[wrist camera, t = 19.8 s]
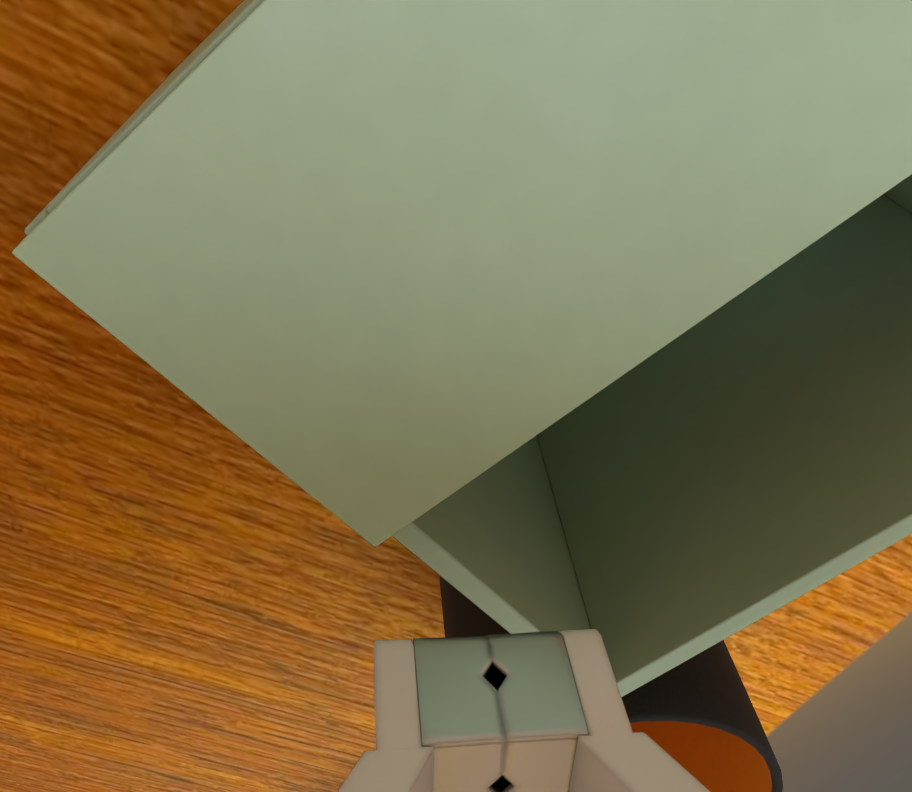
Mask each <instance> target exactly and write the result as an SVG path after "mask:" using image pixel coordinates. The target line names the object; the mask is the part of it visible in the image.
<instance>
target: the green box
mask: <svg viewBox="0 0 912 792" xmlns="http://www.w3.org/2000/svg"><path fill="white" fill-rule="evenodd" d="M262 1H263V0H243V1H242V2H241V3H240V4H239V5H238V6H237V7H236V8H235V9H234V10H233V11H232V12H231V13H230V14H229V15H228V16H227V17H226V18H225V19H224V20H223V21H222V22H221V23H220V24H219V25H218V26H217V27H216V28H215V29H214V30H213V31H212V32H211V33H210V34H209V35H208V36H207V37H206V38H205V39H204V41H203V42H202V43H201V44H200V45H199V46H198V47H197V48H196V49H195V50H194V51H193V52H192V53H191V54H190V55H189V56H188V57H187V58H186V59H185V60H184V61H183V62H182V63H181V64H180V65H179V66H178V67H177V68H176V69H175V70H174V71H173V72H172V73H171V74H170V75H169V76H168V77H167V78H166V79H165V80H164V81H163V82H162V83H161V84H160V85H159V86H158V88H157V89H156V90H155V91H154V92H153V93H152V94H151V95H150V96H149V97H148V98H147V99H146V100H145V101H144V102H143V103H142V105H141V106H140V107H139V108H138V109H137V110H136V111H135V112H134V113H133V114H132V115H131V116H130V117H129V118H128V119H127V120H126V122H125V123H124V124H123V125H122V126H121V127H120V128H119V129H118V130H117V131H116V132H115V133H114V134H113V135H112V136H111V138H110V139H109V140H108V141H107V142H106V143H105V144H104V145H103V146H102V147H101V148H100V149H99V150H98V151H97V152H96V153H95V155H94V156H93V157H92V158H91V159H90V160H89V161H88V162H87V163H86V164H85V165H84V166H83V167H82V168H81V169H80V170H79V172H78V173H77V174H76V175H75V176H74V177H73V178H72V179H71V180H70V181H69V182H68V183H67V184H66V185H65V186H64V187H63V189H62V190H61V191H60V192H59V193H58V194H57V195H56V196H55V197H54V198H53V199H52V200H51V201H50V202H49V203H48V204H47V206H46V207H45V208H44V209H43V210H42V211H41V212H40V213H39V214H38V215H37V216H36V217H35V218H34V219H33V220H32V222H31V223H30V224H29V225H28V226H27V227H26V228H25V231H24V232H25V234H26V235H28V234H29V233H30V232H31V231H32V230H33V229H34V228H35V227H36V226H37V225H38V224H39V223H40V222H41V221H42V220H43V219H44V218H45V217H46V216H47V215H48V214H50V213H51V212H52V211H53V210H54V209H55V208H56V207H57V206H58V205H59V204H60V203H61V202H62V201H63V200H64V199H65V198H66V197H67V196H68V195H69V194H70V193H71V192H72V191H73V190H74V189H75V188H76V187H77V186H78V185H79V184H80V183H81V182H82V181H83V180H84V179H85V178H86V177H87V176H88V175H89V174H90V173H91V172H92V171H93V170H94V169H95V168H96V167H97V166H98V165H99V164H100V163H101V162H102V161H103V160H104V159H105V158H106V157H107V156H108V155H109V154H110V153H111V152H112V151H113V150H114V149H115V148H116V147H117V146H118V145H119V144H120V143H121V142H122V141H123V140H124V139H125V138H126V137H127V136H128V135H129V134H130V133H131V132H132V131H133V130H134V129H135V128H136V127H137V126H138V125H139V124H140V123H141V122H142V121H143V120H144V119H145V118H146V117H147V116H148V115H149V114H150V113H151V112H152V111H153V110H154V109H155V108H156V107H157V106H158V105H159V104H160V103H161V102H162V101H163V100H164V99H165V98H166V97H167V96H168V95H169V94H170V93H171V92H172V91H173V90H174V89H175V88H176V87H177V86H178V85H179V84H180V83H181V82H182V81H183V80H184V79H185V78H186V77H187V76H188V75H189V74H190V73H191V72H192V71H193V70H194V69H195V68H196V67H197V66H198V65H199V64H200V63H201V62H202V61H203V60H204V59H205V58H206V57H207V56H208V55H209V54H210V53H211V52H212V51H213V50H214V49H215V48H216V47H217V46H218V45H219V44H220V43H221V42H222V41H223V40H224V39H225V38H226V37H227V36H228V35H229V34H230V33H231V32H232V31H233V30H234V29H235V28H236V27H237V26H238V25H239V24H240V23H241V22H242V21H243V20H244V19H245V18H246V17H247V16H248V15H249V14H250V13H251V12H252V11H253V10H254V9H255V8H256V7H257V6H258V5H259V4H260V3H261V2H262ZM910 534H912V174H911V175H910V176H908V177H907V178H906V179H904V180H903V181H901V182H900V183H898V184H897V185H896V186H894V187H893V188H891V189H890V190H888V191H887V192H885V193H884V194H883V195H881V196H880V197H878V198H877V199H875V200H874V201H873V202H871V203H870V204H868V205H867V206H865V207H864V208H862V209H861V210H860V211H858V212H857V213H855V214H854V215H852V216H851V217H850V218H848V219H847V220H845V221H844V222H842V223H841V224H839V225H838V226H837V227H835V228H834V229H832V230H831V231H829V232H828V233H827V234H825V235H824V236H822V237H821V238H819V239H818V240H816V241H815V242H814V243H812V244H811V245H809V246H808V247H806V248H805V249H803V250H802V251H801V252H799V253H798V254H796V255H795V256H793V257H792V258H791V259H789V260H788V261H786V262H785V263H783V264H782V265H780V266H779V267H778V268H776V269H775V270H773V271H772V272H770V273H769V274H768V275H766V276H765V277H763V278H762V279H760V280H759V281H757V282H756V283H755V284H753V285H752V286H750V287H749V288H747V289H746V290H745V291H743V292H742V293H740V294H739V295H737V296H736V297H734V298H733V299H732V300H730V301H729V302H727V303H726V304H724V305H723V306H722V307H720V308H719V309H717V310H716V311H714V312H713V313H711V314H710V315H709V316H707V317H706V318H704V319H703V320H701V321H700V322H699V323H697V324H696V325H694V326H693V327H691V328H690V329H688V330H687V331H686V332H684V333H683V334H681V335H680V336H678V337H677V338H676V339H674V340H673V341H671V342H670V343H668V344H667V345H665V346H664V347H663V348H661V349H660V350H658V351H657V352H655V353H654V354H653V355H651V356H650V357H648V358H647V359H645V360H644V361H642V362H641V363H640V364H638V365H637V366H635V367H634V368H632V369H631V370H630V371H628V372H627V373H625V374H624V375H622V376H621V377H619V378H618V379H617V380H615V381H614V382H612V383H611V384H609V385H608V386H607V387H605V388H604V389H602V390H601V391H599V392H598V393H596V394H595V395H594V396H592V397H591V398H589V399H588V400H586V401H585V402H584V403H582V404H581V405H579V406H578V407H576V408H575V409H573V410H572V411H571V412H569V413H568V414H566V415H565V416H563V417H562V418H561V419H559V420H558V421H556V422H555V423H553V424H552V425H550V426H549V427H548V428H546V429H545V430H543V431H542V432H540V433H539V434H538V435H536V436H535V437H533V438H532V439H530V440H529V441H527V442H526V443H525V444H523V445H522V446H520V447H519V448H517V449H516V450H515V451H513V452H512V453H510V454H509V455H507V456H506V457H504V458H503V459H502V460H500V461H499V462H497V463H496V464H494V465H493V466H492V467H490V468H489V469H487V470H486V471H484V472H483V473H481V474H480V475H479V476H477V477H476V478H474V479H473V480H471V481H470V482H469V483H467V484H466V485H464V486H463V487H461V488H460V489H458V490H457V491H456V492H454V493H453V494H451V495H450V496H448V497H447V498H446V499H444V500H443V501H441V502H440V503H438V504H437V505H435V506H434V507H433V508H431V509H430V510H428V511H427V512H425V513H424V514H423V515H421V516H420V517H418V518H417V519H415V520H414V521H412V522H411V523H410V524H408V525H407V526H405V527H404V528H402V529H401V530H399V531H398V532H397V533H395V534H394V535H392V536H393V537H394V538H395V539H396V540H398V541H399V542H400V543H401V544H402V545H404V546H405V547H406V548H407V549H409V550H410V551H411V552H412V553H413V554H415V555H416V556H417V557H418V558H419V559H421V560H422V561H423V562H424V563H426V564H427V565H428V566H429V567H430V568H432V569H433V570H434V571H435V572H436V573H438V574H439V575H440V576H441V577H443V578H444V579H445V580H446V581H447V582H449V583H450V584H451V585H452V586H453V587H455V588H456V589H457V590H458V591H460V592H461V593H462V594H463V595H464V596H466V597H467V598H468V599H469V600H470V601H472V602H473V603H474V604H475V605H477V606H478V607H479V608H480V609H481V610H483V611H484V612H485V613H486V614H487V615H489V616H490V617H491V618H492V619H494V620H495V621H496V622H497V623H498V624H500V625H501V626H502V627H503V628H504V629H506V630H507V631H508V632H509V633H511V634H514V633H529V632H544V631H558V632H559V631H567V630H584V629H596V630H597V631H598V632H599V633H600V634H601V636H602V639H603V642H604V645H605V649H606V652H607V655H608V658H609V661H610V664H611V667H612V670H613V673H614V676H615V679H616V682H617V685H618V688H619V691H620V695H621V697H623V696H624V695H626V694H628V693H630V692H632V691H633V690H635V689H637V688H639V687H640V686H642V685H644V684H646V683H648V682H649V681H651V680H653V679H655V678H656V677H658V676H660V675H662V674H663V673H665V672H667V671H669V670H671V669H672V668H674V667H676V666H678V665H679V664H681V663H683V662H685V661H687V660H688V659H690V658H692V657H694V656H695V655H697V654H699V653H701V652H702V651H704V650H706V649H708V648H710V647H711V646H713V645H715V644H717V643H718V642H720V641H722V640H724V639H726V638H727V637H729V636H731V635H733V634H734V633H736V632H738V631H740V630H741V629H743V628H745V627H747V626H749V625H750V624H752V623H754V622H756V621H757V620H759V619H761V618H763V617H765V616H766V615H768V614H770V613H772V612H773V611H775V610H777V609H779V608H780V607H782V606H784V605H786V604H788V603H789V602H791V601H793V600H795V599H796V598H798V597H800V596H802V595H804V594H805V593H807V592H809V591H811V590H812V589H814V588H816V587H818V586H820V585H821V584H823V583H825V582H827V581H828V580H830V579H832V578H834V577H835V576H837V575H839V574H841V573H843V572H844V571H846V570H848V569H850V568H851V567H853V566H855V565H857V564H859V563H860V562H862V561H864V560H866V559H867V558H869V557H871V556H873V555H874V554H876V553H878V552H880V551H882V550H883V549H885V548H887V547H889V546H890V545H892V544H894V543H896V542H898V541H899V540H901V539H903V538H905V537H906V536H908V535H910Z"/></svg>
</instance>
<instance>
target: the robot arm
mask: <svg viewBox="0 0 912 792" xmlns="http://www.w3.org/2000/svg"><path fill="white" fill-rule="evenodd" d="M374 691H375V732H376V750H370V751H364V753H363V754H362V756H361V757H360V759H359V760H358V762H357V763H356V765H355V766H354V768H353V769H352V771H351V772H350V774H349V775H348V777H347V778H346V780H345V782H344V783H343V785H342V786H341V788H340V789H339V791H338V792H710V791H709V790H708V789H707V788H706V787H705V786H703V785H702V784H701V783H700V782H699V781H698V780H697V779H696V778H694V777H693V776H692V775H691V774H690V773H689V772H688V771H687V770H686V769H684V768H683V767H682V766H681V765H680V764H679V763H678V762H677V761H676V760H674V759H673V758H672V757H671V756H670V755H669V754H668V753H667V752H666V751H664V750H663V749H662V748H661V747H660V746H659V745H658V744H657V743H656V742H654V741H653V740H652V739H651V738H650V737H649V736H648V735H647V734H645V733H644V732H633V731H632V728H631V725H630V722H629V719H628V716H627V713H626V710H625V707H624V704H623V701H622V698H621V695H620V691H619V688H618V685H617V682H616V679H615V676H614V673H613V670H612V667H611V664H610V661H609V658H608V655H607V652H606V649H605V645H604V642H603V639H602V636H601V634H600V633H599V632H598V631H597V630H596V629H584V630H567V631H559V632H558V631H544V632H529V633H514V634H499V635H486V636H485V637H451V638H416V639H413V641H412V639H400V640H375V642H374Z"/></svg>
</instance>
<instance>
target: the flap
mask: <svg viewBox="0 0 912 792" xmlns="http://www.w3.org/2000/svg"><path fill="white" fill-rule="evenodd" d="M911 174H912V0H263V1H262V2H261V3H260V4H259V5H258V6H257V7H256V8H255V9H254V10H253V11H252V12H251V13H250V14H249V15H248V16H247V17H246V18H245V19H244V20H243V21H242V22H241V23H240V24H239V25H238V26H237V27H236V28H235V29H234V30H233V31H232V32H231V33H230V34H229V35H228V36H227V37H226V38H225V39H224V40H223V41H222V42H221V43H220V44H219V45H218V46H217V47H216V48H215V49H214V50H213V51H212V52H211V53H210V54H209V55H208V56H207V57H206V58H205V59H204V60H203V61H202V62H201V63H200V64H199V65H198V66H197V67H196V68H195V69H194V70H193V71H192V72H191V73H190V74H189V75H188V76H187V77H186V78H185V79H184V80H183V81H182V82H181V83H180V84H179V85H178V86H177V87H176V88H175V89H174V90H173V91H172V92H171V93H170V94H169V95H168V96H167V97H166V98H165V99H164V100H163V101H162V102H161V103H160V104H159V105H158V106H157V107H156V108H155V109H154V110H153V111H152V112H151V113H150V114H149V115H148V116H147V117H146V118H145V119H144V120H143V121H142V122H141V123H140V124H139V125H138V126H137V127H136V128H135V129H134V130H133V131H132V132H131V133H130V134H129V135H128V136H127V137H126V138H125V139H124V140H123V141H122V142H121V143H120V144H119V145H118V146H117V147H116V148H115V149H114V150H113V151H112V152H111V153H110V154H109V155H108V156H107V157H106V158H105V159H104V160H103V161H102V162H101V163H100V164H99V165H98V166H97V167H96V168H95V169H94V170H93V171H92V172H91V173H90V174H89V175H88V176H87V177H86V178H85V179H84V180H83V181H82V182H81V183H80V184H79V185H78V186H77V187H76V188H75V189H74V190H73V191H72V192H71V193H70V194H69V195H68V196H67V197H66V198H65V199H64V200H63V201H62V202H61V203H60V204H59V205H58V206H57V207H56V208H55V209H54V210H53V211H52V212H51V213H50V214H48V215H47V216H46V217H45V218H44V219H43V220H42V221H41V222H40V223H39V224H38V225H37V226H36V227H35V228H34V229H33V230H32V231H31V232H30V233H29V234H28V235H27V236H26V237H25V238H24V239H23V240H22V241H21V242H20V243H19V244H18V245H17V246H16V248H15V249H14V250H13V251H12V254H13V255H14V256H16V257H17V258H18V259H19V260H21V261H22V262H23V263H24V264H25V265H27V266H28V267H29V268H30V269H32V270H33V271H34V272H35V273H37V274H38V275H39V276H40V277H42V278H43V279H44V280H45V281H46V282H48V283H49V284H50V285H51V286H53V287H54V288H55V289H56V290H58V291H59V292H60V293H61V294H63V295H64V296H65V297H66V298H67V299H69V300H70V301H71V302H72V303H74V304H75V305H76V306H77V307H79V308H80V309H81V310H82V311H84V312H85V313H86V314H87V315H88V316H90V317H91V318H92V319H93V320H95V321H96V322H97V323H98V324H100V325H101V326H102V327H103V328H105V329H106V330H107V331H108V332H109V333H111V334H112V335H113V336H114V337H116V338H117V339H118V340H119V341H121V342H122V343H123V344H124V345H125V346H127V347H128V348H129V349H130V350H132V351H133V352H134V353H135V354H137V355H138V356H139V357H140V358H142V359H143V360H144V361H145V362H146V363H148V364H149V365H150V366H151V367H153V368H154V369H155V370H156V371H158V372H159V373H160V374H161V375H163V376H164V377H165V378H166V379H167V380H169V381H170V382H171V383H172V384H174V385H175V386H176V387H177V388H179V389H180V390H181V391H182V392H184V393H185V394H186V395H187V396H188V397H190V398H191V399H192V400H193V401H195V402H196V403H197V404H198V405H200V406H201V407H202V408H203V409H205V410H206V411H207V412H208V413H209V414H211V415H212V416H213V417H214V418H216V419H217V420H218V421H219V422H221V423H222V424H223V425H224V426H226V427H227V428H228V429H229V430H230V431H232V432H233V433H234V434H235V435H237V436H238V437H239V438H240V439H242V440H243V441H244V442H245V443H247V444H248V445H249V446H250V447H251V448H253V449H254V450H255V451H256V452H258V453H259V454H260V455H261V456H263V457H264V458H265V459H266V460H267V461H269V462H270V463H271V464H272V465H274V466H275V467H276V468H277V469H279V470H280V471H281V472H282V473H284V474H285V475H286V476H287V477H288V478H290V479H291V480H292V481H293V482H295V483H296V484H297V485H298V486H300V487H301V488H302V489H303V490H305V491H306V492H307V493H308V494H309V495H311V496H312V497H313V498H314V499H316V500H317V501H318V502H319V503H321V504H322V505H323V506H324V507H326V508H327V509H328V510H329V511H330V512H332V513H333V514H334V515H335V516H337V517H338V518H339V519H340V520H342V521H343V522H344V523H345V524H347V525H348V526H349V527H350V528H351V529H353V530H354V531H355V532H356V533H358V534H359V535H360V536H361V537H363V538H364V539H365V540H366V541H368V542H369V543H370V544H371V545H372V546H374V547H376V546H378V545H379V544H381V543H382V542H384V541H385V540H387V539H388V538H389V537H391V536H392V535H394V534H395V533H397V532H398V531H399V530H401V529H402V528H404V527H405V526H407V525H408V524H410V523H411V522H412V521H414V520H415V519H417V518H418V517H420V516H421V515H423V514H424V513H425V512H427V511H428V510H430V509H431V508H433V507H434V506H435V505H437V504H438V503H440V502H441V501H443V500H444V499H446V498H447V497H448V496H450V495H451V494H453V493H454V492H456V491H457V490H458V489H460V488H461V487H463V486H464V485H466V484H467V483H469V482H470V481H471V480H473V479H474V478H476V477H477V476H479V475H480V474H481V473H483V472H484V471H486V470H487V469H489V468H490V467H492V466H493V465H494V464H496V463H497V462H499V461H500V460H502V459H503V458H504V457H506V456H507V455H509V454H510V453H512V452H513V451H515V450H516V449H517V448H519V447H520V446H522V445H523V444H525V443H526V442H527V441H529V440H530V439H532V438H533V437H535V436H536V435H538V434H539V433H540V432H542V431H543V430H545V429H546V428H548V427H549V426H550V425H552V424H553V423H555V422H556V421H558V420H559V419H561V418H562V417H563V416H565V415H566V414H568V413H569V412H571V411H572V410H573V409H575V408H576V407H578V406H579V405H581V404H582V403H584V402H585V401H586V400H588V399H589V398H591V397H592V396H594V395H595V394H596V393H598V392H599V391H601V390H602V389H604V388H605V387H607V386H608V385H609V384H611V383H612V382H614V381H615V380H617V379H618V378H619V377H621V376H622V375H624V374H625V373H627V372H628V371H630V370H631V369H632V368H634V367H635V366H637V365H638V364H640V363H641V362H642V361H644V360H645V359H647V358H648V357H650V356H651V355H653V354H654V353H655V352H657V351H658V350H660V349H661V348H663V347H664V346H665V345H667V344H668V343H670V342H671V341H673V340H674V339H676V338H677V337H678V336H680V335H681V334H683V333H684V332H686V331H687V330H688V329H690V328H691V327H693V326H694V325H696V324H697V323H699V322H700V321H701V320H703V319H704V318H706V317H707V316H709V315H710V314H711V313H713V312H714V311H716V310H717V309H719V308H720V307H722V306H723V305H724V304H726V303H727V302H729V301H730V300H732V299H733V298H734V297H736V296H737V295H739V294H740V293H742V292H743V291H745V290H746V289H747V288H749V287H750V286H752V285H753V284H755V283H756V282H757V281H759V280H760V279H762V278H763V277H765V276H766V275H768V274H769V273H770V272H772V271H773V270H775V269H776V268H778V267H779V266H780V265H782V264H783V263H785V262H786V261H788V260H789V259H791V258H792V257H793V256H795V255H796V254H798V253H799V252H801V251H802V250H803V249H805V248H806V247H808V246H809V245H811V244H812V243H814V242H815V241H816V240H818V239H819V238H821V237H822V236H824V235H825V234H827V233H828V232H829V231H831V230H832V229H834V228H835V227H837V226H838V225H839V224H841V223H842V222H844V221H845V220H847V219H848V218H850V217H851V216H852V215H854V214H855V213H857V212H858V211H860V210H861V209H862V208H864V207H865V206H867V205H868V204H870V203H871V202H873V201H874V200H875V199H877V198H878V197H880V196H881V195H883V194H884V193H885V192H887V191H888V190H890V189H891V188H893V187H894V186H896V185H897V184H898V183H900V182H901V181H903V180H904V179H906V178H907V177H908V176H910V175H911Z"/></svg>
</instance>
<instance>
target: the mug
mask: <svg viewBox="0 0 912 792" xmlns="http://www.w3.org/2000/svg"><path fill="white" fill-rule="evenodd" d="M440 586H441V597H442V608H443V619H444V629H445V638H451V637H485V636H486V635H499V634H511V633H509V632H508V631H507V630H506V629H504V628H503V627H502V626H501V625H500V624H498V623H497V622H496V621H495V620H494V619H492V618H491V617H490V616H489V615H487V614H486V613H485V612H484V611H483V610H481V609H480V608H479V607H478V606H477V605H475V604H474V603H473V602H472V601H470V600H469V599H468V598H467V597H466V596H464V595H463V594H462V593H461V592H460V591H458V590H457V589H456V588H455V587H453V586H452V585H451V584H450V583H449V582H447V581H446V580H445V579H444V578H443V577H441V576H440ZM621 698H622V701H623V704H624V707H625V710H626V713H627V716H628V719H629V722H630V725H631V728H632V731H633V732H644V733H645V734H647V735H648V736H649V737H650V738H651V739H652V740H653V741H654V742H656V743H657V744H658V745H659V746H660V747H661V748H662V749H663V750H664V751H666V752H667V753H668V754H669V755H670V756H671V757H672V758H673V759H674V760H676V761H677V762H678V763H679V764H680V765H681V766H682V767H683V768H684V769H686V770H687V771H688V772H689V773H690V774H691V775H692V776H693V777H694V778H696V779H697V780H698V781H699V782H700V783H701V784H702V785H703V786H705V787H706V788H707V789H708V790H709V791H710V792H782V790H783V782H782V774H781V769H780V767H779V765H778V762H777V760H776V758H775V755H774V753H773V751H772V749H771V746H770V744H769V742H768V739H767V737H766V735H765V732H764V730H763V728H762V725H761V723H760V721H759V719H758V717H757V714H756V712H755V710H754V708H753V705H752V703H751V701H750V699H749V696H748V694H747V692H746V690H745V687H744V685H743V683H742V681H741V678H740V676H739V674H738V672H737V669H736V667H735V665H734V663H733V660H732V658H731V656H730V654H729V651H728V649H727V647H726V645H725V643H724V640H722V641H720V642H718V643H717V644H715V645H713V646H711V647H710V648H708V649H706V650H704V651H702V652H701V653H699V654H697V655H695V656H694V657H692V658H690V659H688V660H687V661H685V662H683V663H681V664H679V665H678V666H676V667H674V668H672V669H671V670H669V671H667V672H665V673H663V674H662V675H660V676H658V677H656V678H655V679H653V680H651V681H649V682H648V683H646V684H644V685H642V686H640V687H639V688H637V689H635V690H633V691H632V692H630V693H628V694H626V695H624V696H623V697H621Z"/></svg>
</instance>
